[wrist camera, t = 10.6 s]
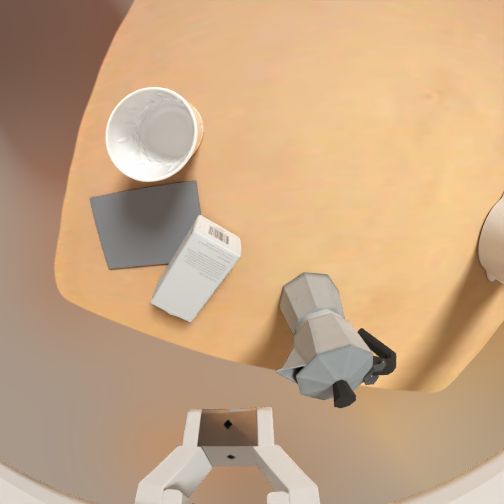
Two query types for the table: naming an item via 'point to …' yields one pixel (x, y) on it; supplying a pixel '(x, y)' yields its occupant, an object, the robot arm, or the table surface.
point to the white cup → (153, 134)
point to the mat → (145, 223)
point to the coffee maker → (328, 343)
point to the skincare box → (196, 269)
